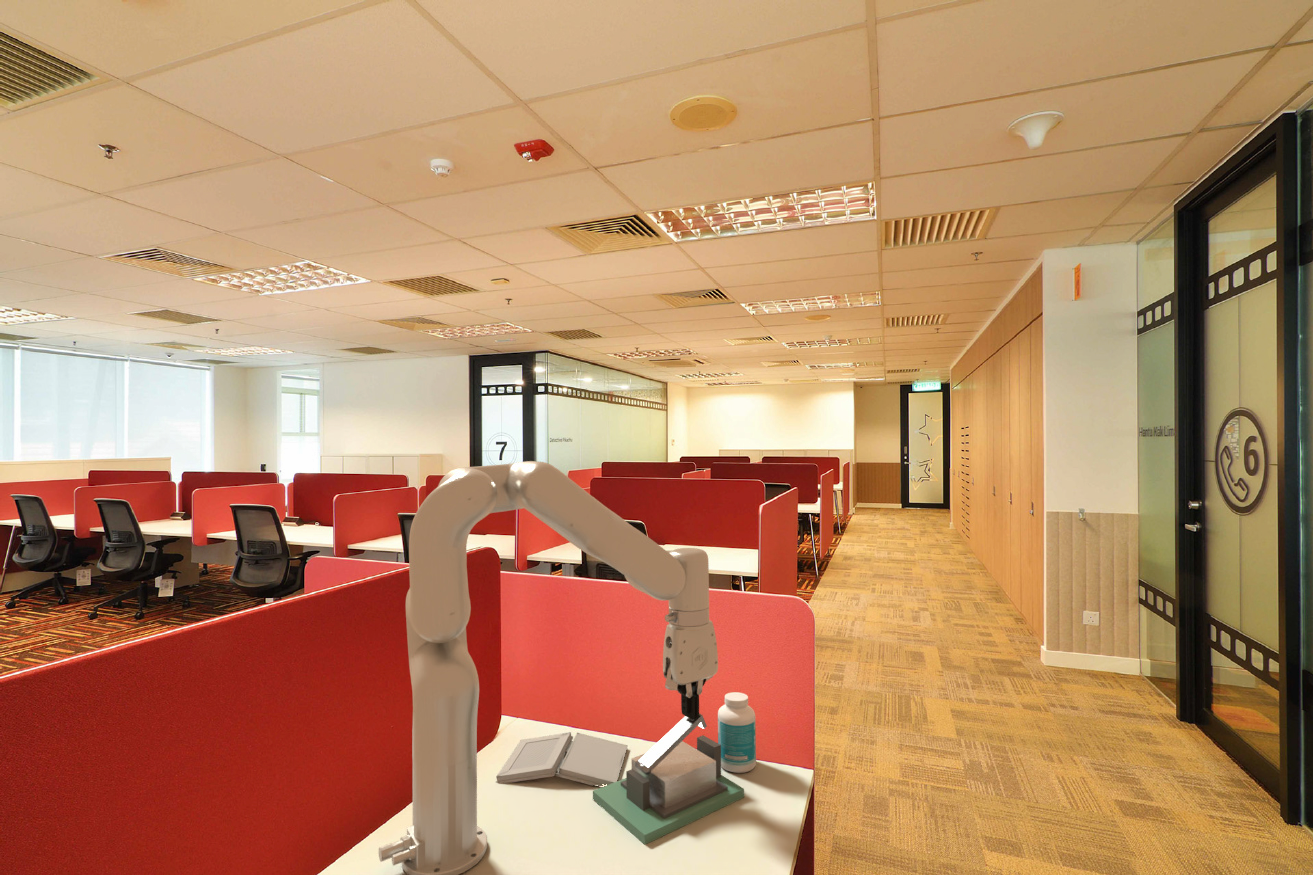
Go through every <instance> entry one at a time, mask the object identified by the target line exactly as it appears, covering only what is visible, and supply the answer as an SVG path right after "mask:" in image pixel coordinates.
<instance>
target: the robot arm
mask: <svg viewBox="0 0 1313 875" xmlns="http://www.w3.org/2000/svg"><path fill="white" fill-rule="evenodd" d="M521 509H524V510H526V511H527V512H529V513H530V514H532V515H533V516H535V518H537V519H539V521H541V522H542V523H544V524H545V525H547V526H548V527H549V528H551V529H552V530H553V531H555V532H556V533H558V535H560V536H561V537H563V538H564V539H566V540H567V541H568V542H569V543H570V544H572V545H573V546H575V547H576V548H578V549H579V550H580V551H582V552H584V553H585V554H587V555H588V556H590V557H593V558H594V559H597V560H599V561H601V562H603V563H605V564H606V565H608V566H609V567H611V568H612V569H615V570H616V571H618V572H619V573H621V575H624V579H625V580H626V582H627V583H628V584H629V585H630V586H631V587H633V588H634V589H635V590H638V591H640V592H641V593H643V594H646V595H647V596H649V597H651V598H653V599H655V600H657V601H665V602H666V601H668V614H665V616H664V621H665V622H666V623H668V624H666V628H665V633H664V638H663V639H664V640H663V647H662V648H663V652H662V673H663V677H664V678H665V684H664V687H665V689H666V690H669V691H677V693H678V694H680V700H681V702H680V704H681V706H680V707H681V709H680V710H681V714H682V715H683V716H684V717H685V716H686V717H688V718H690V719H694V718H695V717H696V718H697V717H699V714H700V695H702V694H703V693H702V692H703V688H704V686H705V684H706V682H708V681H709V680H711V679H712V678H713V677H714V676H715V675H716V674H717V673H718V670H719V655H718V645H717V636H716V632H715V627H714V623H713V621H712V620H710V583H709V582H710V580H709V579H710V577H709V575H710V573H709V572H710V570H709V569H710V567H709V566H710V565H709V555H708V553H707V551H705V550H704V549H702V548H701V549H700V548H695V547H683V548H681V547H680V548H675V549H673V550H666V549H665V548H663V547H662V546H661V545H659V544H658V543H657V542H655V541H654V540H653V539H652V538H650V537H649V536H647V535H646V534H644V532H642V531H640V530H639V529H637V528H636V527H634V526H633V525H631V524H630V523H629V522H628V521H626V520H625V519H624V518H622V517H621V516H620V515H618V514H617V513H616V512H614V511H612V510H611V509H610V508H608V507H607V506H606V505H604V504H603V503H602V502H600V501H599V500H598V499H596V498H595V497H594V496H593V495H591V494H590V493H589V492H588V491H586V490H585V489H584V488H582V487H581V486H580V485H578V484H577V483H576V482H575V481H574V480H572V479H571V478H570V477H568V475H566V474H565V473H563V472H562V471H561V470H560V469H558V468H557V467H555V466H554V465H552V464H550V463H548V462H544V461H535V460H534V461H533V460H529V461H528V460H526V461H520V462H511V463H503V464H502V463H501V464H491V465H481V466H478V465H477V466H468V467H467V466H466V467H459V468H455V469H452V470H450V471H449V472H447V473H446V474H445V475H444V476H443V477H442V478H441V479H440V481H439V483H438V485H437V487H436V488H434V489H433V490H432V491H431V492H430V493H429V494H428V495H427V496H426V498H425V499H424V500H423V502H422V503H421V505H420V506H419V507H418V509H417V511H416V513H415V515H414V517H413V519H412V522H411V526H410V531H409V539H408V561H409V563H408V566H409V567H408V568H409V571H408V572H409V573H408V574H409V575H408V576H409V589H408V590H407V593H406V596H405V618H406V619H405V620H406V623H405V624H406V634H407V635H406V637H407V652H408V666H409V668H408V669H409V675H410V683H411V684H410V685H411V690H412V692H411V693H412V730H411V732H412V733H411V734H412V736H411V738H412V742H411V743H412V745H411V748H412V750H411V751H412V755H411V757H412V825H410V826H408V827H406V835H403V836H401V837H400V840H397V841H394V842H390V843H388V844H385V845H381V846H379V847H378V859H379V861H380V863H382V862H384V861H387V860H389V859H391V862H392V863H391V864H392V866H396V865H399V864H401V867H402V870H403V871H404V872H405V873H406V874H407V875H461V874H462V873H466V871H468V870H470V869H472V868H473V867H475V865H477V864H478V863H479V862H480V861H481V860H482V859H483V857H484V856H485V855H486V852H487V849H488V835H487V833H486V832H485V831H484V830H483V828H481V827H480V826H478V777H477V776H478V768H477V767H478V748H477V746H478V744H477V743H478V742H477V741H478V740H477V738H478V736H477V735H478V734H477V732H478V729H477V728H478V727H477V726H478V711H479V710H478V708H479V699H480V698H479V697H480V680H479V675H478V670H477V667H476V664H475V662H474V660H473V658H472V656H471V655H470V653H469V650H468V642H467V641H468V640H467V626H468V623H469V621H470V617H471V610H472V607H471V599H470V593H469V581H468V579H469V578H468V568H467V564H468V563H467V562H468V560H467V554H468V553H467V544H468V538H469V535H470V533H471V530H473V528H474V526H476V524H477V523H478V522H480V521H482V520H484V519H485V518H486V517H487V516H488V515H490V514H493V513H494V514H495V513H503V512H509V511H514V510H521Z"/></svg>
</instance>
